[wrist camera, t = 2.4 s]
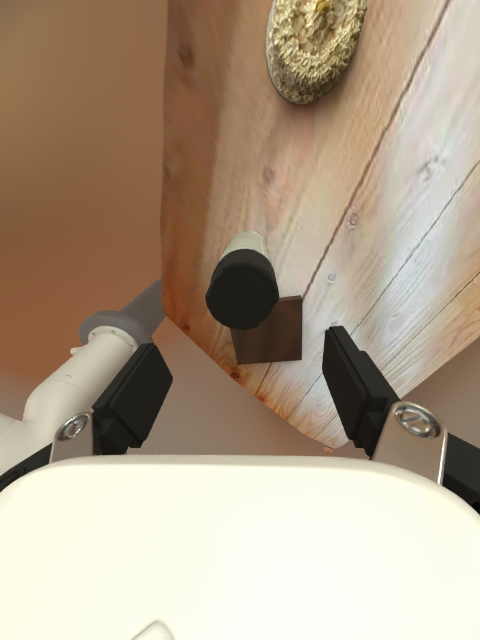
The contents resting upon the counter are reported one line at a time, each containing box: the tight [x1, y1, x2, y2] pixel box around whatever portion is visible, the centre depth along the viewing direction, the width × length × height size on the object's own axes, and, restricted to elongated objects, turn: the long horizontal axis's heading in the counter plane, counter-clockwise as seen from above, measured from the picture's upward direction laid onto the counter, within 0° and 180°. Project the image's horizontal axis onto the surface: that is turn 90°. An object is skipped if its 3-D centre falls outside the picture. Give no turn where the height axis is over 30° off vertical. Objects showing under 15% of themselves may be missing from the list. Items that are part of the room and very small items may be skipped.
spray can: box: [205, 230, 279, 330], centre depth 25 cm, size 7×7×20 cm
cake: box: [265, 0, 367, 105], centre depth 19 cm, size 10×10×5 cm
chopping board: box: [230, 295, 302, 365], centre depth 42 cm, size 15×16×2 cm
